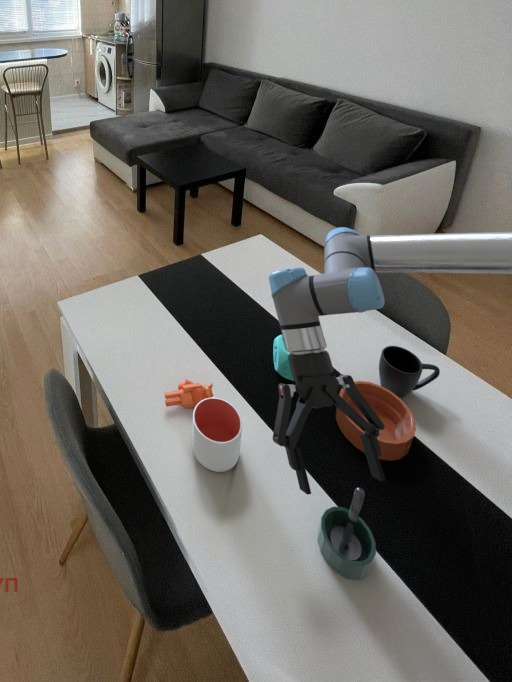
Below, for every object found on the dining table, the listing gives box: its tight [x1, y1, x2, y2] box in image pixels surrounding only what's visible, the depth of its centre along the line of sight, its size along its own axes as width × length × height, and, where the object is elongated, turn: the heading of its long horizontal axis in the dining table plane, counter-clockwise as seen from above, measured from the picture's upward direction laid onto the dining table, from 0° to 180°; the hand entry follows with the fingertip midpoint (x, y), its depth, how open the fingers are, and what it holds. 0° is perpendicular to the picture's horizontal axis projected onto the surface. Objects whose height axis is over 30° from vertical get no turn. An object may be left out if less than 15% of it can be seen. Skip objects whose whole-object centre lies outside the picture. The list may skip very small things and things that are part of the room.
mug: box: [378, 345, 441, 399], centre depth 102 cm, size 8×12×10 cm
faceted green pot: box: [317, 506, 377, 581], centre depth 75 cm, size 8×8×5 cm
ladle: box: [329, 486, 366, 561], centre depth 73 cm, size 5×5×17 cm
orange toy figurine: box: [164, 379, 214, 409], centre depth 103 cm, size 5×8×12 cm
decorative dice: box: [272, 334, 294, 382], centre depth 109 cm, size 8×8×8 cm
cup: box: [191, 397, 243, 473], centre depth 91 cm, size 10×10×10 cm
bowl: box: [335, 380, 417, 462], centre depth 94 cm, size 14×14×6 cm
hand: (342, 485), depth 74 cm, fingers open, 13 cm apart
